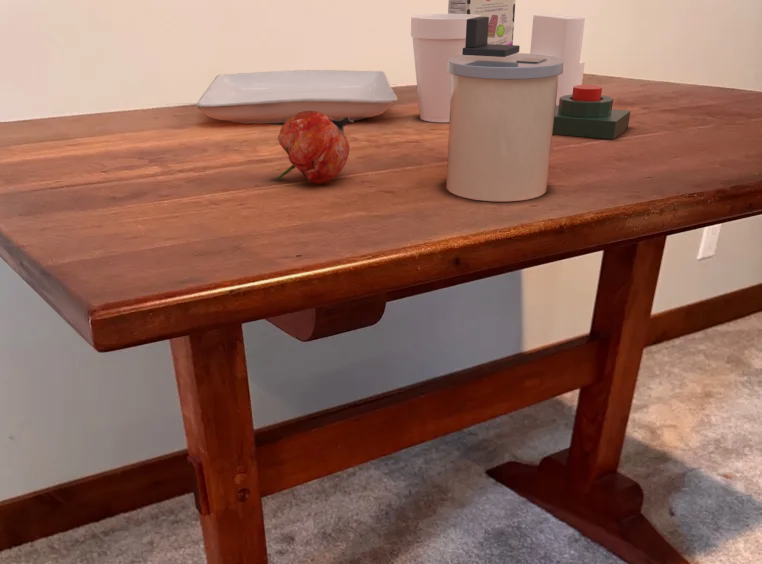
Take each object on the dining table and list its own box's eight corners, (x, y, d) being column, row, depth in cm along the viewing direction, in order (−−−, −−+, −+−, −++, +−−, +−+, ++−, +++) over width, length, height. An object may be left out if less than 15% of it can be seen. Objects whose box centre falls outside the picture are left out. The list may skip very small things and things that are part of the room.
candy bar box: (489, 84, 140) (496, -22, 131) (510, 87, 136) (519, -22, 128) (443, 91, 134) (447, -20, 125) (464, 94, 130) (470, -19, 122)
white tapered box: (508, 101, 125) (515, 15, 119) (556, 96, 128) (565, 13, 122) (541, 110, 117) (550, 20, 111) (592, 105, 120) (603, 17, 114)
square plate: (219, 96, 132) (217, 71, 130) (384, 93, 132) (384, 68, 130) (197, 129, 108) (194, 99, 106) (398, 125, 109) (398, 95, 107)
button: (603, 100, 103) (605, 85, 103) (596, 104, 101) (598, 89, 100) (576, 98, 105) (577, 84, 104) (568, 102, 102) (569, 88, 101)
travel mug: (563, 181, 82) (579, 54, 76) (530, 208, 74) (544, 68, 68) (466, 170, 87) (473, 49, 81) (424, 194, 79) (429, 62, 73)
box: (628, 128, 106) (632, 96, 104) (613, 139, 100) (618, 105, 98) (554, 121, 110) (557, 91, 108) (535, 132, 104) (538, 100, 102)
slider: (519, 52, 76) (522, 17, 74) (504, 57, 73) (507, 20, 71) (477, 50, 77) (479, 16, 76) (461, 55, 74) (463, 19, 73)
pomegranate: (283, 212, 82) (357, 155, 77) (241, 150, 81) (314, 89, 76) (309, 201, 88) (379, 147, 84) (271, 143, 87) (340, 86, 82)
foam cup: (489, 117, 113) (496, 15, 106) (445, 127, 107) (450, 20, 101) (439, 109, 119) (442, 12, 112) (395, 118, 114) (396, 16, 107)
